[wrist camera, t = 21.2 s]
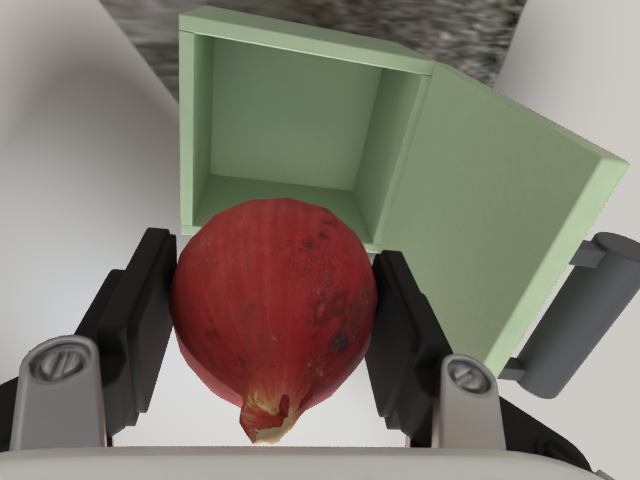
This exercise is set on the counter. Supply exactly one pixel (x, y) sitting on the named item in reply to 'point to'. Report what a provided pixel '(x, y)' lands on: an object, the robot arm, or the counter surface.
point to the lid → (510, 232)
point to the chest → (294, 117)
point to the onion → (273, 309)
